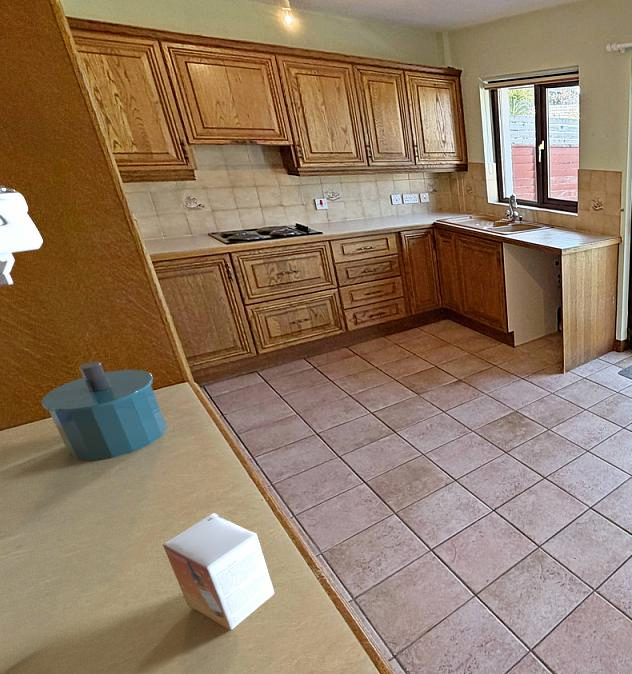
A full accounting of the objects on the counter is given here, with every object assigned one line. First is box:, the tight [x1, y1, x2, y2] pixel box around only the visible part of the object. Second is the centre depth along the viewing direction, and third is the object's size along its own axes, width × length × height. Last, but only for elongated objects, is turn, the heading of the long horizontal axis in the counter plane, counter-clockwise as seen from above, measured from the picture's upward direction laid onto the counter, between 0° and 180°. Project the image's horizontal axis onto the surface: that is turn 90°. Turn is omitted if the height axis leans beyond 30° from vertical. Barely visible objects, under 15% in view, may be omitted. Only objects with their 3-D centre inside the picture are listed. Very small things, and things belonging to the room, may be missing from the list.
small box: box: [162, 512, 275, 631], centre depth 57 cm, size 8×6×10 cm
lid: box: [41, 361, 154, 412], centre depth 81 cm, size 14×14×6 cm
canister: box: [48, 384, 168, 462], centre depth 84 cm, size 13×13×10 cm
